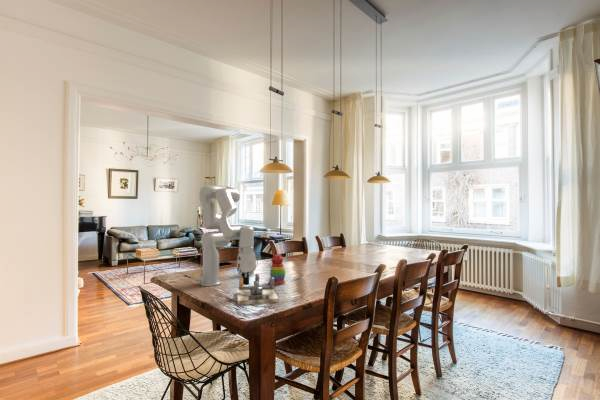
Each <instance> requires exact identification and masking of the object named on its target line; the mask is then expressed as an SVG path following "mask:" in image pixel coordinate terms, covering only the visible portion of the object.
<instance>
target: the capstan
mask: <svg viewBox="0 0 600 400" xmlns="http://www.w3.org/2000/svg"><path fill="white" fill-rule="evenodd" d="M254 275H255V276H254V278H255V279H254V281H253V285H247V286H244V284H243V277H242V276H240V277H239V278H238V290H250V294H251V295H261V294H263V290H275V285H274V277H271V276H270V277H269V281H270V285H269V286H262V285H260V274H259V273H255V274H254Z"/></svg>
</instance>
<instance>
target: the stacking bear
mask: <svg viewBox="0 0 600 400" xmlns="http://www.w3.org/2000/svg"><path fill="white" fill-rule="evenodd" d="M270 261H271V267H270V272H269V275H270V277H274V286H280V285H284V284H285V281H286V280H285V278H286V277H285V276H286V268H285V265H284V264H283V261H284V257H283V256H282V255H281V254H279V253H278V254H275V255H273V257H272V258H270ZM267 283H268V285H269V286H270V280H269V281H268V282H267Z"/></svg>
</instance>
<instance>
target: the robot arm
mask: <svg viewBox="0 0 600 400" xmlns="http://www.w3.org/2000/svg"><path fill="white" fill-rule="evenodd" d="M198 194H199V195H198V196H199V197H198V198H199V202H200V205H201V213H202V224H203V228H204V229H205V230H215V231H207V232H205V233H203V234H202V236H201V237H200V238H201V240H200V241H201V248H202V276H200V277H194V281H196V282H199V285H200V286H203V287H213V286H214V287H215V286H219V285H221V284H222V281H221V280H220V276H219V275H220V272H219V271H220V253H219V251H218V249H217V248H220V247H226V246H228V245H229V244H230V241H232V240H234V241H235V240H239V242H238V243H239V246H238V247H239V248H238V249H237V251H238V254H237V261H236V271H237V275H239V276H240V275H241V276H240V277H243V286H244V285H245V286H250V278H251V277H250V274H251V273H252V272H255V271H256V269H257V267H256V266H257V260H256V259H257V257H256V254H255V251H254V248H255V247H254V241H255V240H254V239H255V236H254V234H255V233H254V232H255V229H254V227H252V226H246V225H242V224H241V225H230V220H229V217H232V216H233V215H234V214H236V213H237V210H238V208H237V205H236V204H235V203H237V202H239V201H240V197H241V195H240V192H239V190H238V189H237V188H234V187H231V186H227V185H217V184H213V185H212V184H208V185H207V184H206V185H203V186H202V187H200V190H199V193H198ZM213 200H216V201H217V203H218V206H219V208H220V212H221V213H217V205H216V203H215V202H214V201H213ZM216 230H217V231H216Z"/></svg>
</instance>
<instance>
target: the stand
mask: <svg viewBox="0 0 600 400" xmlns="http://www.w3.org/2000/svg"><path fill="white" fill-rule="evenodd" d="M235 296H236V300H237V305H238V306H243V305H246V306H247V305H259V304H274V303H276V304H277V303H279V300H280V299H279V297H278V294H277V293H276V292H275V289H273V290H263V294H261V295H251V294H250V290H239V289H236V290H235Z"/></svg>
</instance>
